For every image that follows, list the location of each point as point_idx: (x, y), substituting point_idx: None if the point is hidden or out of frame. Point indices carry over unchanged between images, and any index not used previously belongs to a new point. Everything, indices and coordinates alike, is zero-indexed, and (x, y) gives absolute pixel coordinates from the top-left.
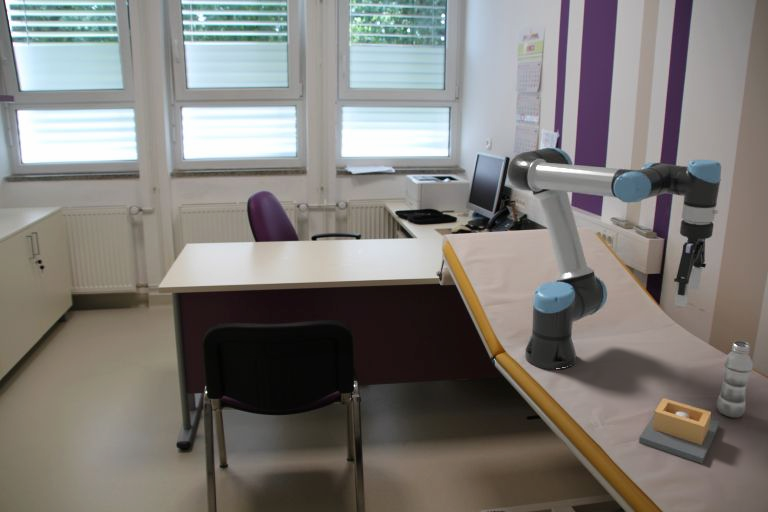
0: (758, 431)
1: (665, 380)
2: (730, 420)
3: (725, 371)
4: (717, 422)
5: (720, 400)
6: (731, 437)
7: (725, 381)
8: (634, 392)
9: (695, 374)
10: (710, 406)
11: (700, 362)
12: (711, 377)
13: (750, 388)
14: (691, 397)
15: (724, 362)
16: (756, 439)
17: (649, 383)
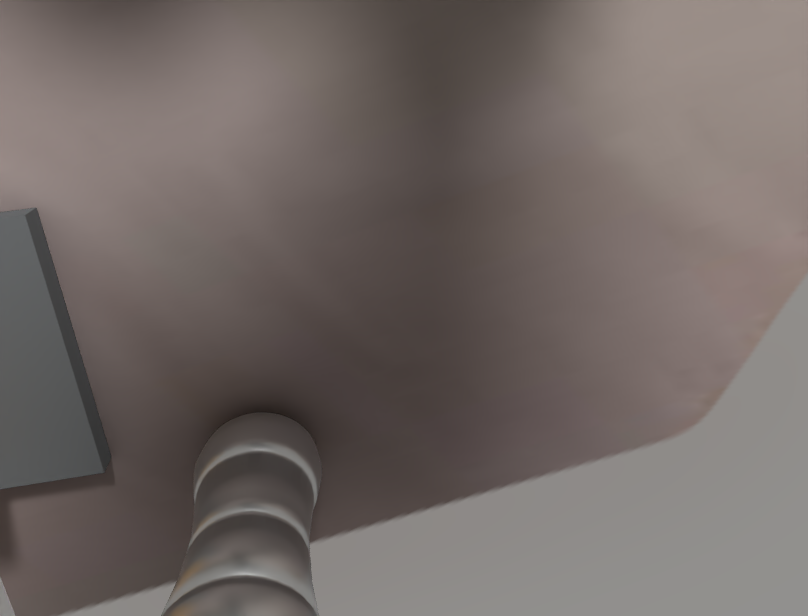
0: None
1: (366, 105)
2: None
3: (184, 578)
4: (89, 469)
5: (207, 460)
6: (72, 516)
7: (195, 540)
8: (91, 18)
9: (542, 204)
10: (262, 372)
11: (699, 173)
12: (558, 275)
13: (556, 434)
14: (281, 279)
15: (187, 604)
16: (140, 577)
17: (265, 45)
